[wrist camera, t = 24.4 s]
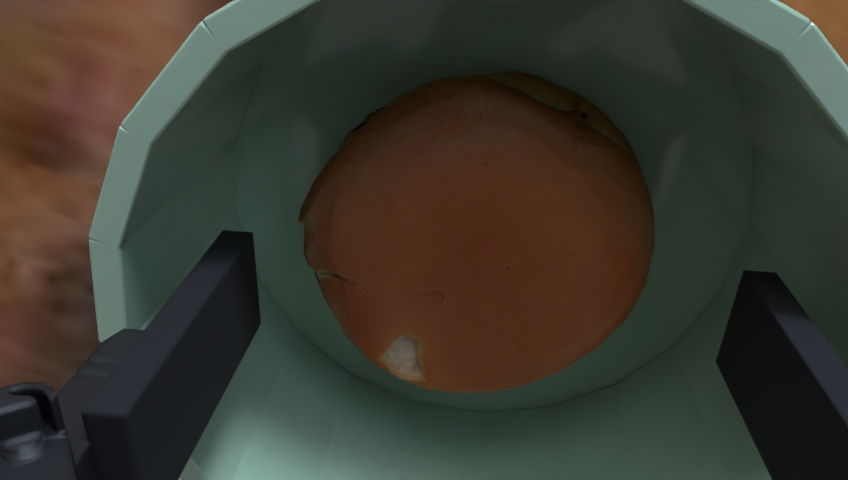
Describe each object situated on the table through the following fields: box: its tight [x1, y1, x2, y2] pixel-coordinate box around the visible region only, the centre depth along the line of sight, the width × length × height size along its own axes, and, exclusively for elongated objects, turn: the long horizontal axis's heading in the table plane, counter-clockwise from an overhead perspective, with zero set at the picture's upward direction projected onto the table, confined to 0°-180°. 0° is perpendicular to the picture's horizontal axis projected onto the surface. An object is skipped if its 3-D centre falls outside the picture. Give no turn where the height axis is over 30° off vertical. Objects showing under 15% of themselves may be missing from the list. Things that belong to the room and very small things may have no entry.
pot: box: [89, 0, 848, 480], centre depth 18 cm, size 17×17×8 cm
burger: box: [298, 71, 655, 393], centre depth 19 cm, size 10×9×5 cm
